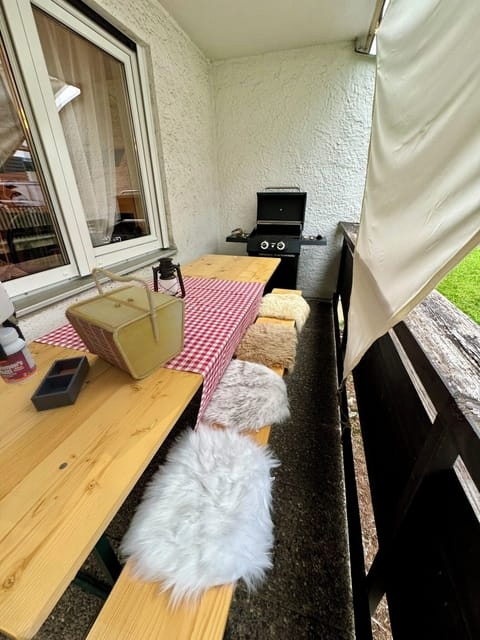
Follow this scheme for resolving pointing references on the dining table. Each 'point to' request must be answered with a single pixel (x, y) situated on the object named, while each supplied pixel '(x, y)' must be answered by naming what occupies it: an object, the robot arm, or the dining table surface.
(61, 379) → the holder
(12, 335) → the pill bottle
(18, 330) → the robot arm
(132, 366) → the picnic basket
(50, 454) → the dining table surface
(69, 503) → the dining table surface
